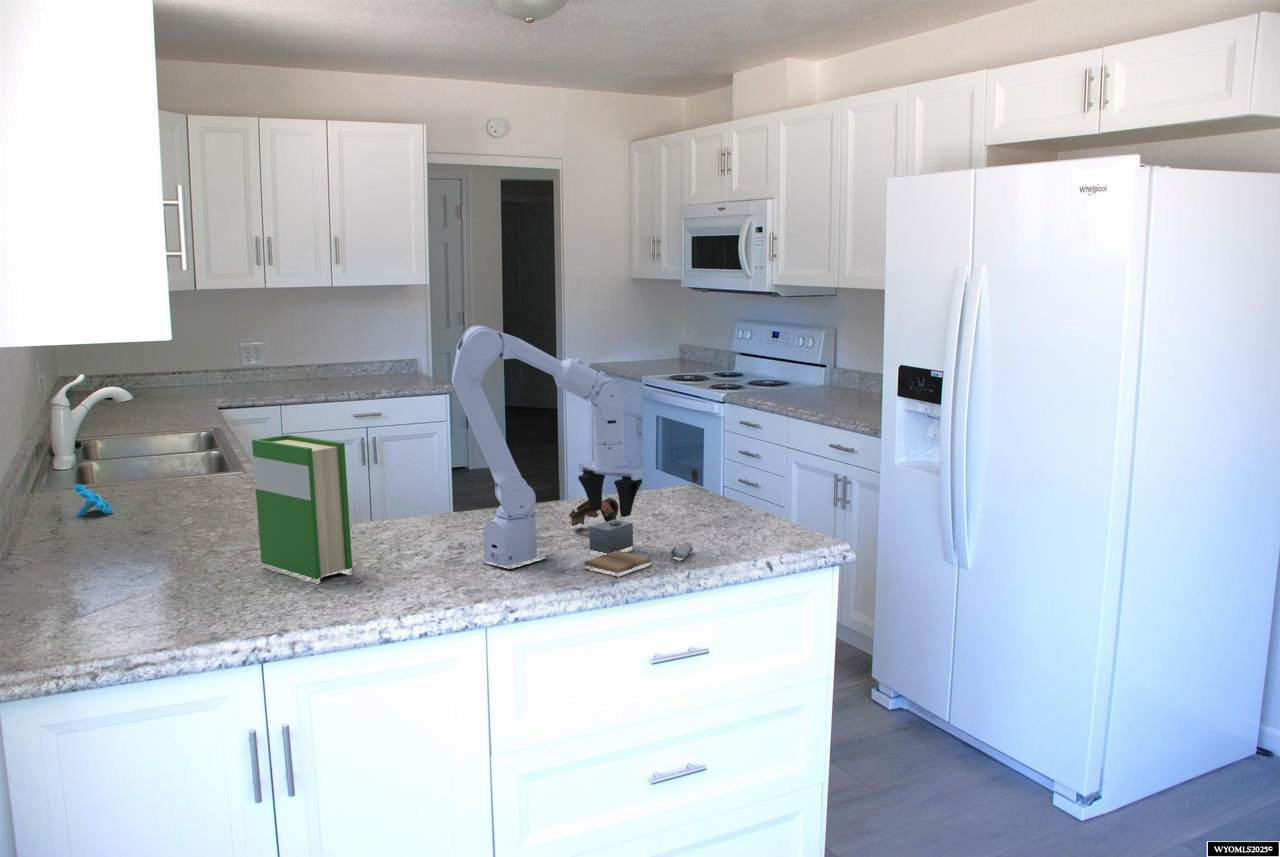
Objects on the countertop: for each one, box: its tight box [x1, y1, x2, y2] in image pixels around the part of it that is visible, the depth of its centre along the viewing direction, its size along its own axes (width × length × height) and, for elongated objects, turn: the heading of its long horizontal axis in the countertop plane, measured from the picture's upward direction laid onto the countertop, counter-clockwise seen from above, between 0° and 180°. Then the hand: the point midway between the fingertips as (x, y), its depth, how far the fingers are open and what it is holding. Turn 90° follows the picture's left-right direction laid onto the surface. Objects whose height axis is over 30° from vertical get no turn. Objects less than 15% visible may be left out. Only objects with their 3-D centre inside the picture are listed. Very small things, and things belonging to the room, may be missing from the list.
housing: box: [588, 519, 634, 554], centre depth 192 cm, size 7×5×6 cm
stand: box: [584, 551, 652, 573], centre depth 181 cm, size 9×8×2 cm
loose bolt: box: [670, 543, 694, 559], centre depth 187 cm, size 6×3×3 cm, turn 159°
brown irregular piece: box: [568, 497, 619, 527], centre depth 209 cm, size 12×10×8 cm
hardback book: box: [251, 434, 353, 579], centre depth 182 cm, size 18×7×24 cm, turn 51°
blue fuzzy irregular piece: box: [73, 483, 114, 517], centre depth 232 cm, size 11×6×10 cm
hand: (610, 513), depth 191 cm, fingers open, 7 cm apart
